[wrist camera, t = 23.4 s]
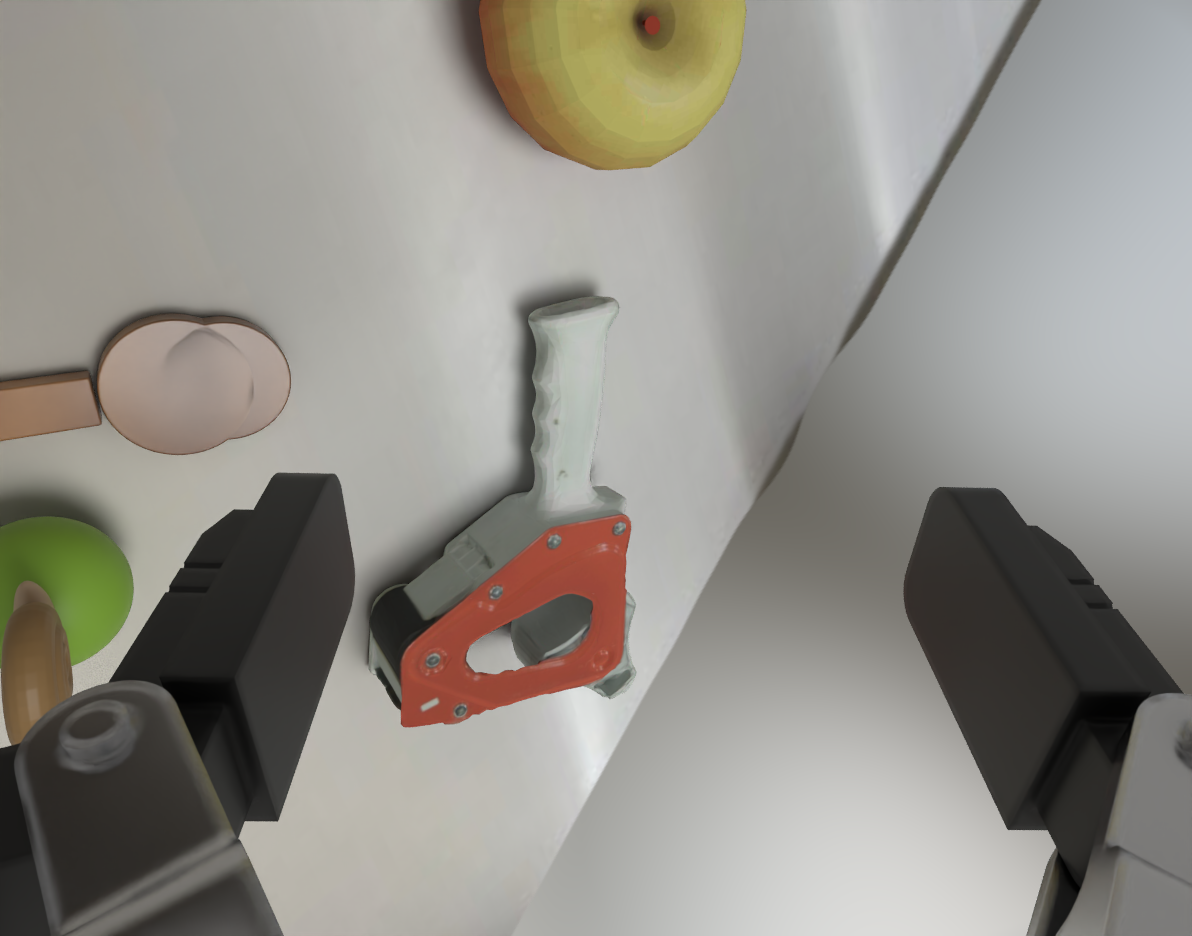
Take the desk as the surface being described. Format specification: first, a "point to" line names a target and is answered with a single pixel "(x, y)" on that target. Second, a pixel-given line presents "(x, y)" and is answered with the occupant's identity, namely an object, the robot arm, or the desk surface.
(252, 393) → the spoon
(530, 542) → the tape dispenser
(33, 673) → the snail figurine
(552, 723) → the desk surface
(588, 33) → the apple
